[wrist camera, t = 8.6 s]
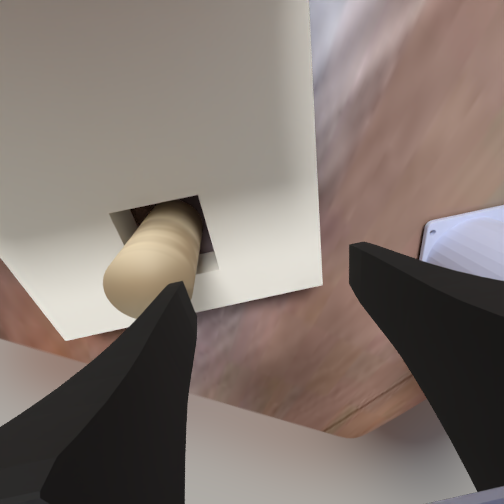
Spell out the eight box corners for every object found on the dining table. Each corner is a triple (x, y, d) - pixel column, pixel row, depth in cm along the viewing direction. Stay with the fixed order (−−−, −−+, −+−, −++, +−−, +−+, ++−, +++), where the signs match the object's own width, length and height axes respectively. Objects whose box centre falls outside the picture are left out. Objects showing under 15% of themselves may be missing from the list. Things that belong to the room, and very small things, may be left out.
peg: (208, 243, 20) (202, 311, 13) (159, 253, 20) (125, 328, 12) (194, 194, 18) (177, 242, 11) (139, 205, 18) (85, 262, 11)
